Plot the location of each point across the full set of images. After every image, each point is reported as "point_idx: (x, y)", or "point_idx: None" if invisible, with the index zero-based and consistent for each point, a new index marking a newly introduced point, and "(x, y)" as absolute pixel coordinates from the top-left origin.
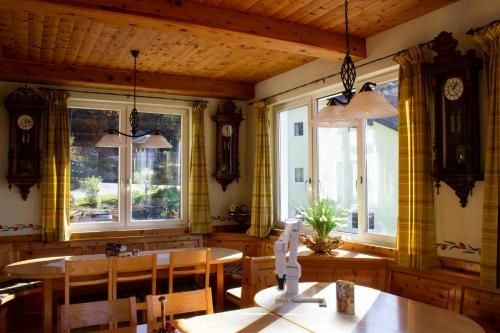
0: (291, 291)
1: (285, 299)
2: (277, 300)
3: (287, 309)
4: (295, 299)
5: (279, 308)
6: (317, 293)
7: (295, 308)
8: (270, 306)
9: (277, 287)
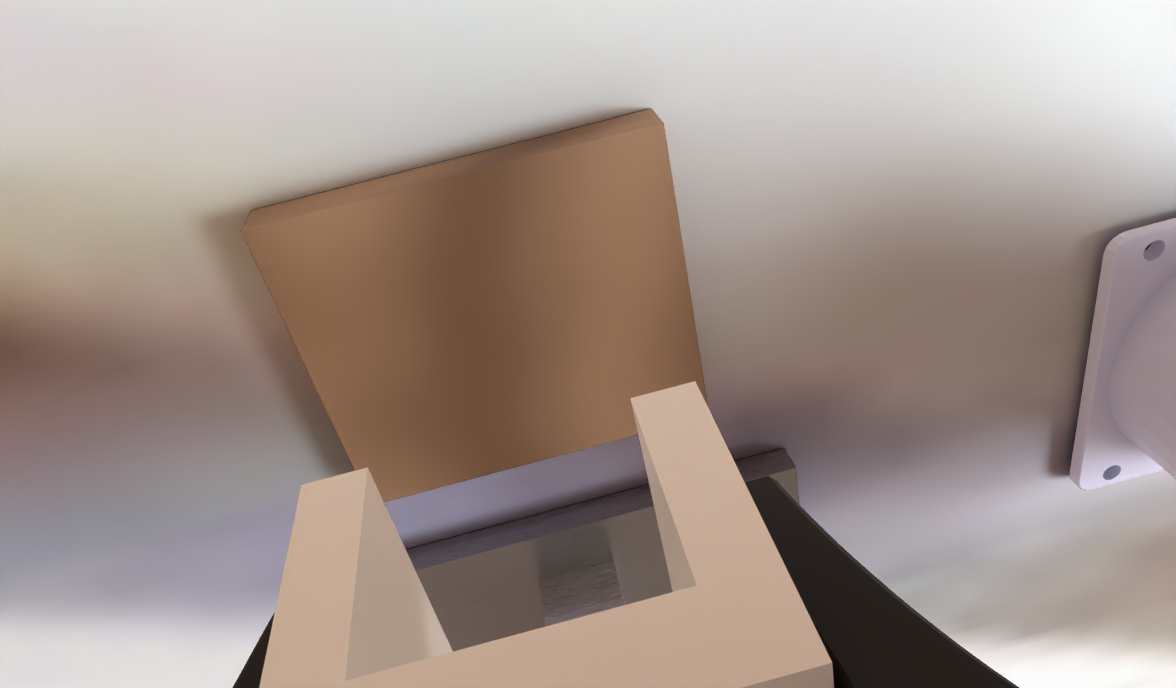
0: (1163, 396)
1: (640, 384)
2: (495, 232)
3: (51, 558)
4: (545, 626)
5: (11, 401)
6: (1164, 661)
7: (208, 647)
8: (31, 137)
9: (281, 605)
